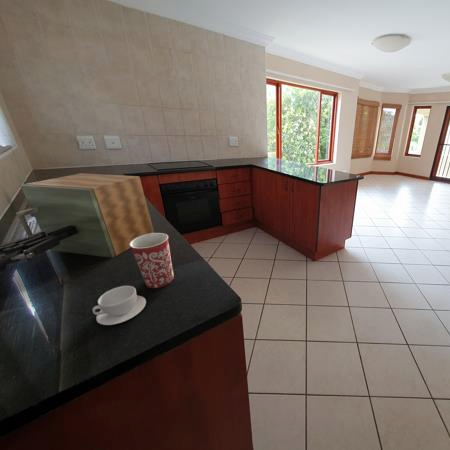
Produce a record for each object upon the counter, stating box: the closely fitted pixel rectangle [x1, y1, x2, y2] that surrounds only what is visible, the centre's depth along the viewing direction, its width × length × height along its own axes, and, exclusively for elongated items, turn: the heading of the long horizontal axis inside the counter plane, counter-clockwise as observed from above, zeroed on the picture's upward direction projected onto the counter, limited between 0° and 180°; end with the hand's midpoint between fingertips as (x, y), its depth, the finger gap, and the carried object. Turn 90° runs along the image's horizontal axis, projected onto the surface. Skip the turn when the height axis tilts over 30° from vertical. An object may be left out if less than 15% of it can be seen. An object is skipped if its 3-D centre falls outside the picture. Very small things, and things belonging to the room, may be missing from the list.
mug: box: [129, 232, 175, 289], centre depth 68 cm, size 13×9×14 cm
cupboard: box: [24, 172, 155, 257], centre depth 87 cm, size 18×26×24 cm
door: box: [16, 184, 116, 258], centre depth 76 cm, size 6×26×24 cm, turn 80°
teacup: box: [92, 285, 147, 326], centre depth 57 cm, size 10×10×5 cm
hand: (73, 229), depth 78 cm, fingers closed, pressing on door
